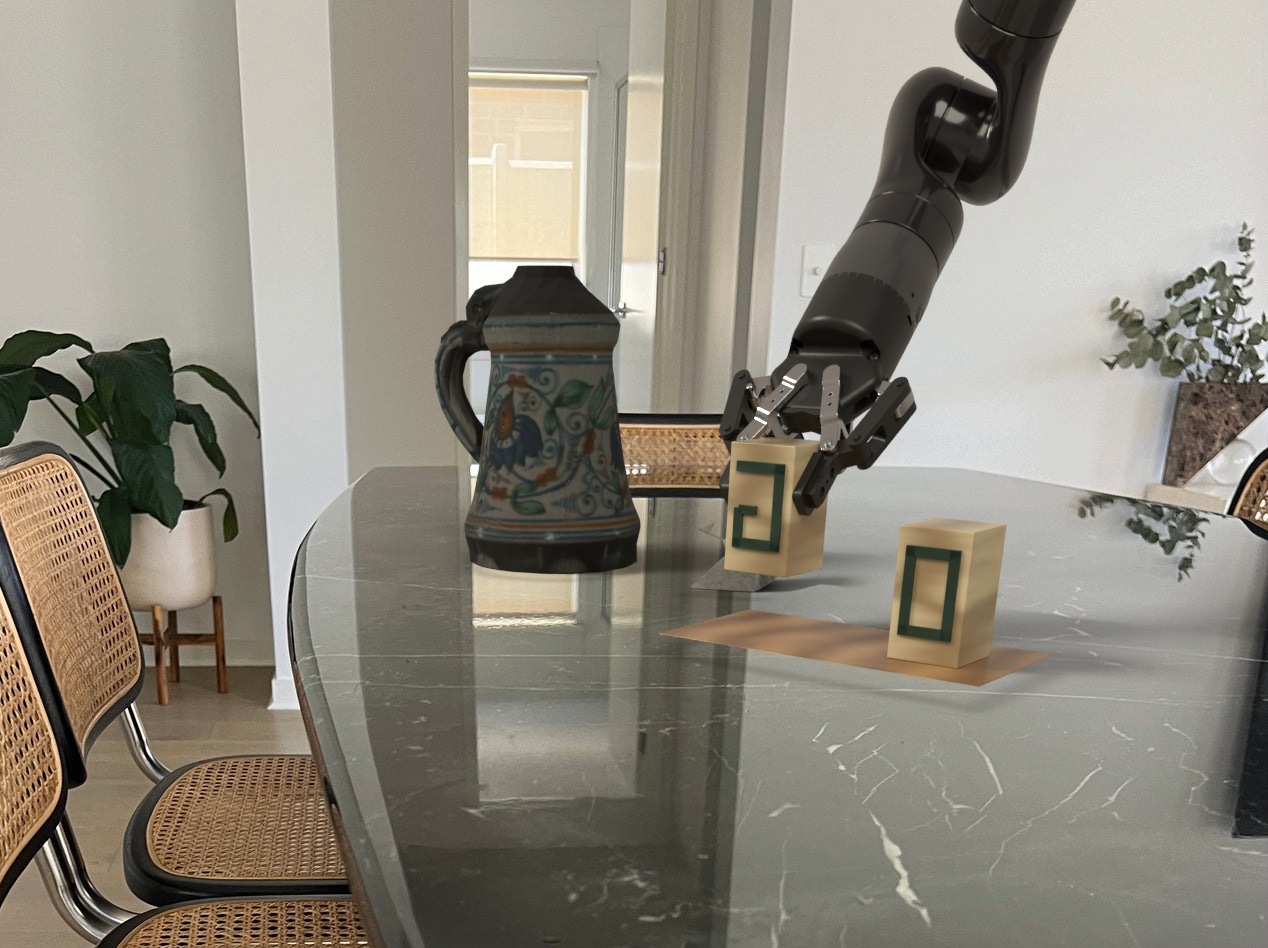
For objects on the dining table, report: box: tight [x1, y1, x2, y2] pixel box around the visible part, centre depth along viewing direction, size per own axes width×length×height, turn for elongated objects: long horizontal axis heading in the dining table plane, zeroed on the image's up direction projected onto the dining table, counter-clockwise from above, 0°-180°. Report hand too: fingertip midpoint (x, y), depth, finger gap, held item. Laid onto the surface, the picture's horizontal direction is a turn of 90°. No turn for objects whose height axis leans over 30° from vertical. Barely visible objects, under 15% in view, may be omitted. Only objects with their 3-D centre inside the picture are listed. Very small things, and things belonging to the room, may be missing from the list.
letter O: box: [887, 517, 1008, 669], centre depth 95 cm, size 5×5×8 cm
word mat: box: [658, 609, 1053, 688], centre depth 101 cm, size 24×12×1 cm, turn 51°
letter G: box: [724, 437, 829, 579], centre depth 101 cm, size 5×5×8 cm
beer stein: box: [433, 264, 641, 574], centre depth 133 cm, size 16×19×25 cm
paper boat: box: [689, 522, 778, 593], centre depth 126 cm, size 12×6×9 cm
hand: (764, 502), depth 99 cm, fingers closed on letter G, 5 cm apart
